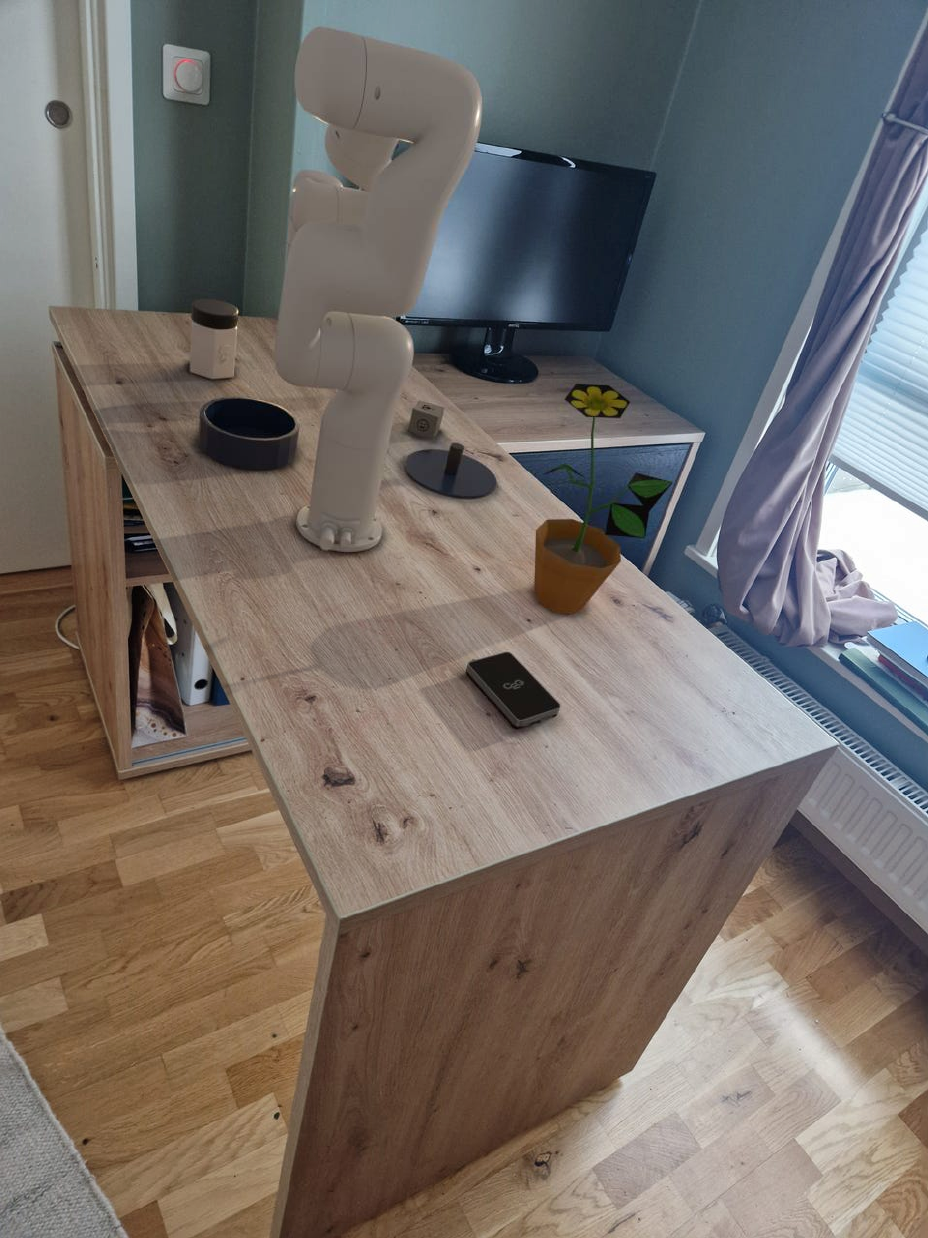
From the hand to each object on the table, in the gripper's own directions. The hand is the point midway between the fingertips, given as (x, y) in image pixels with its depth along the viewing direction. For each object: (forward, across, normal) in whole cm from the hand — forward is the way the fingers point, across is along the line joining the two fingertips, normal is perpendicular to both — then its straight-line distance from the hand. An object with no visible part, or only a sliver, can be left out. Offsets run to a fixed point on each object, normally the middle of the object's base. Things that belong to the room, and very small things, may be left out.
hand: (297, 364), depth 141 cm
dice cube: (+10, -6, +24) cm, 27 cm away
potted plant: (+10, +42, +45) cm, 62 cm away
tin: (+10, +14, -5) cm, 18 cm away
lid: (+9, +10, +29) cm, 32 cm away
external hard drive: (+10, +65, +36) cm, 75 cm away
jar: (+10, -14, -17) cm, 24 cm away
